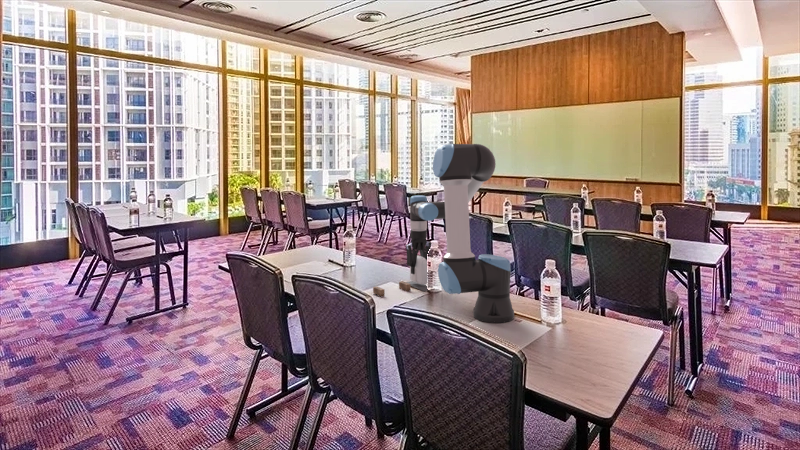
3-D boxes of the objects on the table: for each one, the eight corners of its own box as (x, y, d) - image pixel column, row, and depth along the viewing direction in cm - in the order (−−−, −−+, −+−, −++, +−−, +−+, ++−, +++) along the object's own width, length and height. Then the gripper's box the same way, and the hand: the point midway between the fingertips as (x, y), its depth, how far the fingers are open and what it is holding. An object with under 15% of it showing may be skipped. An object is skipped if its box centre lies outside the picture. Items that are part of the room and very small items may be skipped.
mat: (434, 289, 225) (434, 288, 225) (424, 291, 222) (424, 290, 222) (413, 281, 238) (413, 280, 238) (403, 283, 235) (403, 282, 235)
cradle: (410, 290, 224) (410, 284, 223) (380, 296, 214) (380, 290, 214) (402, 287, 228) (402, 281, 228) (373, 293, 219) (373, 287, 219)
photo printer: (408, 280, 233) (408, 254, 231) (416, 279, 235) (416, 253, 233) (421, 285, 224) (421, 258, 223) (429, 283, 227) (429, 257, 225)
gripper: (428, 226, 234) (428, 275, 238) (398, 230, 224) (398, 281, 228) (438, 228, 228) (438, 278, 232) (408, 232, 218) (408, 284, 222)
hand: (418, 279), depth 230 cm, fingers closed on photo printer, 4 cm apart
